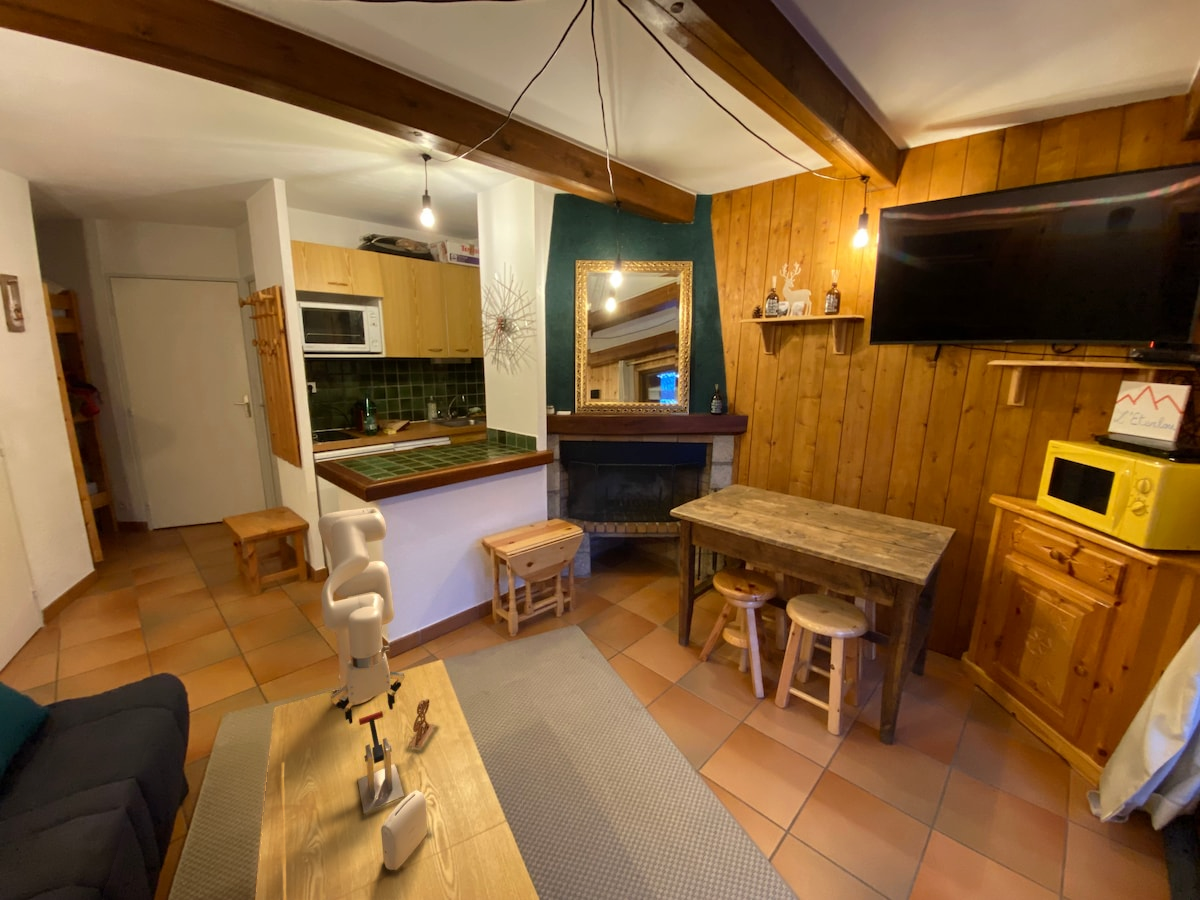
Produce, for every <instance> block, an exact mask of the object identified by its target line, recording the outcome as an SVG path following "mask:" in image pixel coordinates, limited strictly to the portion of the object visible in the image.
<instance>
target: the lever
mask: <svg viewBox="0 0 1200 900" xmlns="http://www.w3.org/2000/svg"><path fill="white" fill-rule="evenodd" d="M383 713H384V712H383V711H382V710H381V711H378V712H374V713H372V714H369V715H366V716H363V717H361V718H358V723H359V726H362V725H365V724H368V723H369V728H370V733H371V738H372V744H373V746H372V747H371V752H372V756H373V765H375V764H378V763H379V762H382V761H384V751H383V743H380V742H379V737H378V733H377V727H376V722H375V721H376V720H379V719H383V717H384V714H383Z"/></svg>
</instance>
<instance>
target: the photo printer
mask: <svg viewBox="0 0 1200 900" xmlns="http://www.w3.org/2000/svg"><path fill="white" fill-rule="evenodd" d="M427 816H428V814H427V799H426V797H425V794H423V792H422V791H419V790H418V789H417V790H414V791H412V792H411V793H409V794H408V795H407V796H405V798H403V799H402V800H401V801H400V802H399V803H398V804H397V805H396V806H395V808H394V809H392V811H391V812H390V814H389V815H388V816H387V817H386V818H385V820H384V822H383V824H382V826H381V829H380V833H381V834H380V835H381V847H382V859H383V860H382V861H383V864H384V866H385V868H386V869H387V870H390V871H393V870H394V871H397V870H398V869H399V868H400V867H401V866H402V865H403V864H404V863H405V862H406V860H407V859H408V858H409V857H410V856H411V855H412V853H414V851H415V850H416V849H417V848H418V846H419V845H420V844H421V843H422V841H424V839H425V837H426V835H428V817H427Z"/></svg>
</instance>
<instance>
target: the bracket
mask: <svg viewBox="0 0 1200 900" xmlns="http://www.w3.org/2000/svg"><path fill="white" fill-rule="evenodd" d="M382 747H383V752H384V760H383V765H384V767H383V768H382V769H378V770H376V771H375V770H374V759H373V754H372V747H371V744H366V745H365V747H364V748H365V755H363V756H364V757H363V758H364V763H366V775H364V776H362V777H359V778H357V784H358V790H359V797H360V801H361V806H362V811H363V815H366V814H368V813H370V812H372V811H375V810H377V809H379V808H381V807H383V806H385V805H388V804H390V803H393V802H394V801H396V800H399V799H401V798H403V797H405V793H404V790H403V787H402V783H401V780H400V777H399V773H398V769H397V766H396V763H393V764H392V755H391V754H392V752H393V751H392V749H393V748H392V745H390V744H389V740H388V737H384V738H382Z"/></svg>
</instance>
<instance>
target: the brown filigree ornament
mask: <svg viewBox="0 0 1200 900" xmlns="http://www.w3.org/2000/svg"><path fill="white" fill-rule="evenodd" d="M429 706H430V699H428V698H426V699H421V700H420V701H419V702H418V705H417V708H416V714H417V716H416V718H415V720H414V723H413V729H412V731H413V733H416V735H415V737H413V739H412V741H411V742H410V744H409V745H408V747H410V748H415V749H421V748H422V746H423V745H424V744H425V742H426V740H427V739H428V737H429V736H430V734H432V731H433V730H434V729H435V727H436V725H435V724H429V722H428V721H427V719H426V718H427V717H426V714H427V713H428V711H429ZM419 719H420V720H419Z"/></svg>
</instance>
